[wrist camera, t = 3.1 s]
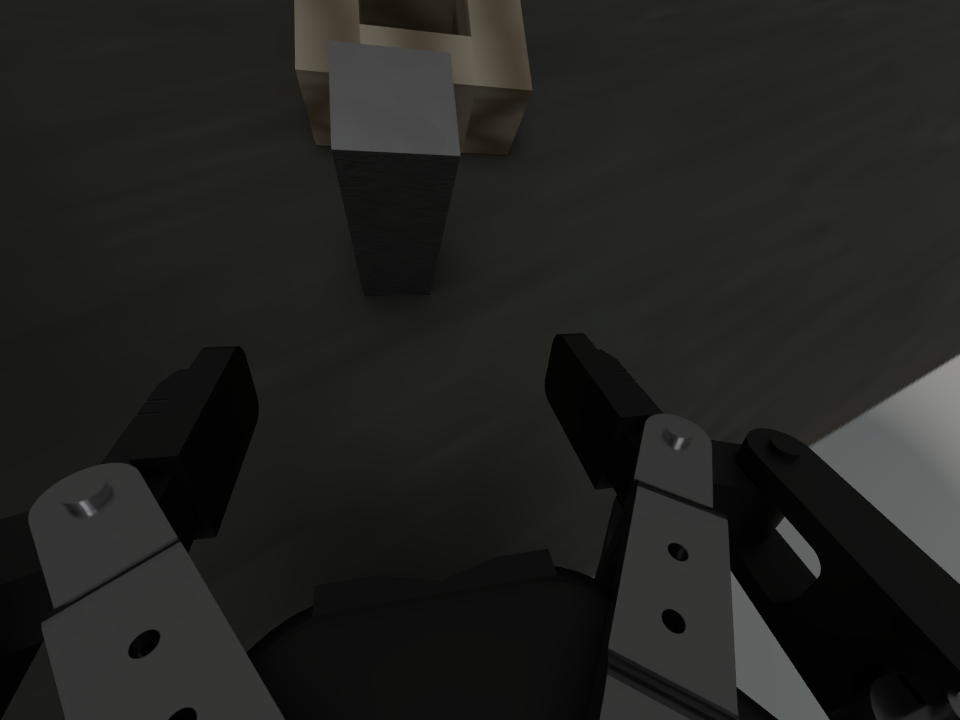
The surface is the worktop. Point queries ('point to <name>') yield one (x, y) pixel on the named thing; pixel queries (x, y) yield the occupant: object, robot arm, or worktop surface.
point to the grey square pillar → (393, 159)
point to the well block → (432, 27)
